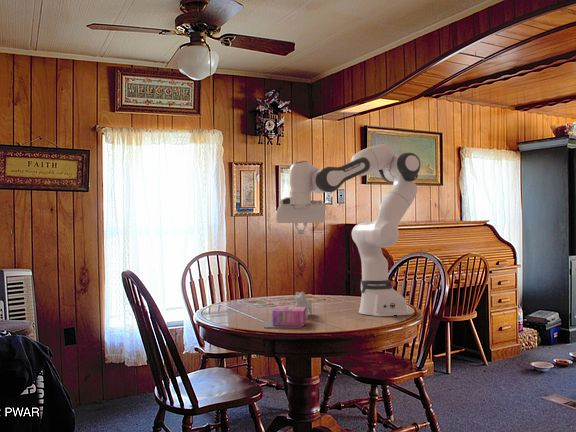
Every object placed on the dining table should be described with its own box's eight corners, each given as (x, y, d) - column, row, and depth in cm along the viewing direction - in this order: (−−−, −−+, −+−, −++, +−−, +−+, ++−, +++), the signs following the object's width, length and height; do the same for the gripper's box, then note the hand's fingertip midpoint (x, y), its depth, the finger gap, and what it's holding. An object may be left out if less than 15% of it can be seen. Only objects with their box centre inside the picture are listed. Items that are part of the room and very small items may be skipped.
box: (303, 310, 191) (272, 310, 193) (303, 326, 191) (272, 325, 193) (307, 306, 201) (277, 306, 203) (307, 321, 201) (277, 320, 203)
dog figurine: (292, 319, 209) (292, 292, 209) (301, 313, 221) (300, 288, 221) (305, 319, 207) (304, 292, 207) (313, 314, 219) (312, 288, 219)
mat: (300, 321, 202) (300, 320, 202) (302, 327, 190) (302, 326, 190) (264, 322, 202) (264, 321, 202) (264, 328, 190) (264, 327, 190)
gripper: (324, 200, 215) (325, 233, 215) (275, 201, 215) (276, 234, 214) (326, 199, 209) (326, 234, 209) (276, 200, 208) (276, 234, 208)
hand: (300, 234), depth 212 cm, fingers closed
